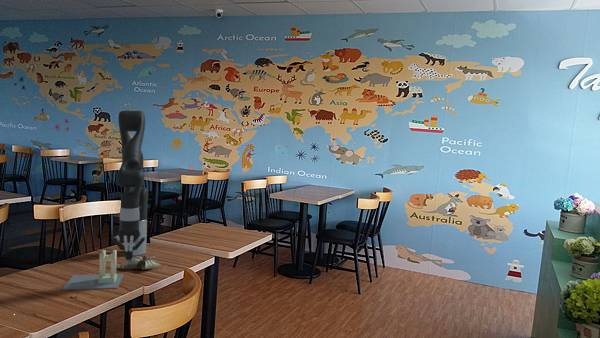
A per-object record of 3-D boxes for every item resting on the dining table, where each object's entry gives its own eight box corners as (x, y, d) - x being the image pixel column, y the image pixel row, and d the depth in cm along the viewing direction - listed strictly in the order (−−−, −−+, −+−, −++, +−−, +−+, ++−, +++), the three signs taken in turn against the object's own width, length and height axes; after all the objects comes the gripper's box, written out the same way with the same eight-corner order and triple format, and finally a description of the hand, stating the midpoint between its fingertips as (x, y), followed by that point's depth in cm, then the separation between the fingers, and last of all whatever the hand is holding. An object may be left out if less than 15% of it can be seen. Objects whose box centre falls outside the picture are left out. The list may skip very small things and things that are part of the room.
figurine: (139, 249, 213) (171, 254, 209) (138, 261, 213) (170, 266, 209) (112, 258, 194) (147, 263, 190) (111, 271, 194) (146, 277, 190)
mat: (73, 275, 187) (73, 274, 187) (123, 274, 191) (123, 273, 191) (61, 289, 171) (61, 288, 171) (117, 288, 176) (117, 287, 176)
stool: (101, 278, 185) (101, 250, 184) (116, 278, 186) (117, 250, 185) (98, 283, 179) (98, 254, 178) (114, 283, 180) (114, 254, 179)
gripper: (147, 216, 187) (146, 256, 189) (114, 216, 184) (113, 257, 186) (145, 220, 180) (144, 262, 181) (110, 220, 177) (109, 262, 178)
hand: (128, 259), depth 183 cm, fingers closed
